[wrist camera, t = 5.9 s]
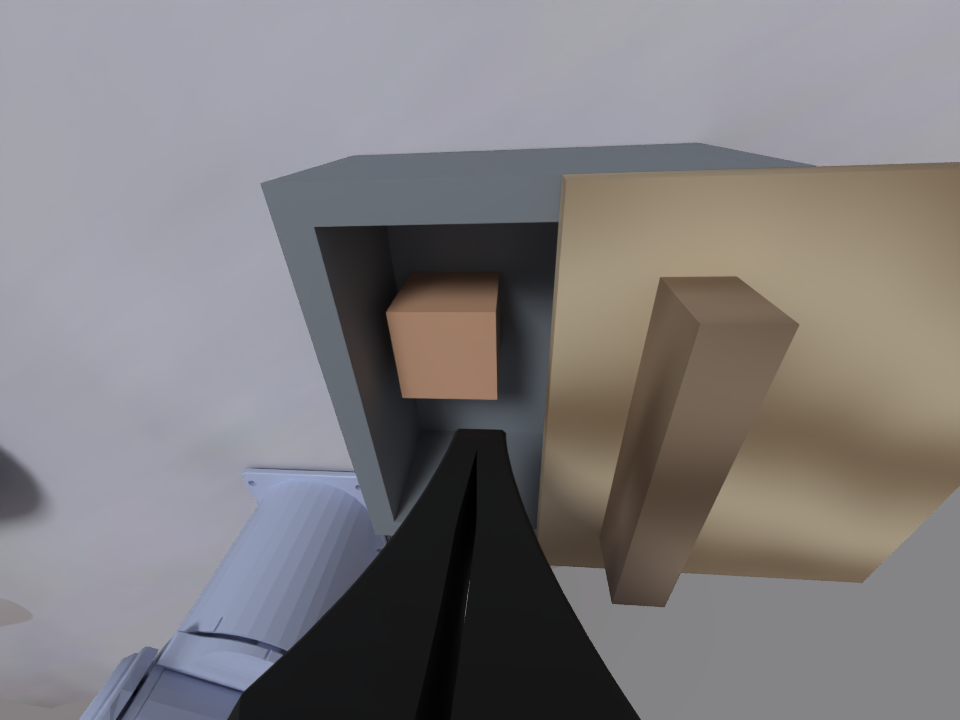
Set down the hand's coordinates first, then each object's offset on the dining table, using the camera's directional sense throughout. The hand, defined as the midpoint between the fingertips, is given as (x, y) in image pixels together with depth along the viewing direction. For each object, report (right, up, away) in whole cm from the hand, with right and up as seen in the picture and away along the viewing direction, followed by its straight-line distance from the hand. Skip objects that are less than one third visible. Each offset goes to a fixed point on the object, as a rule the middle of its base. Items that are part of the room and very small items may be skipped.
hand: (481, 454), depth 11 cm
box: (+2, +4, +6) cm, 8 cm away
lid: (+8, +1, +1) cm, 8 cm away
